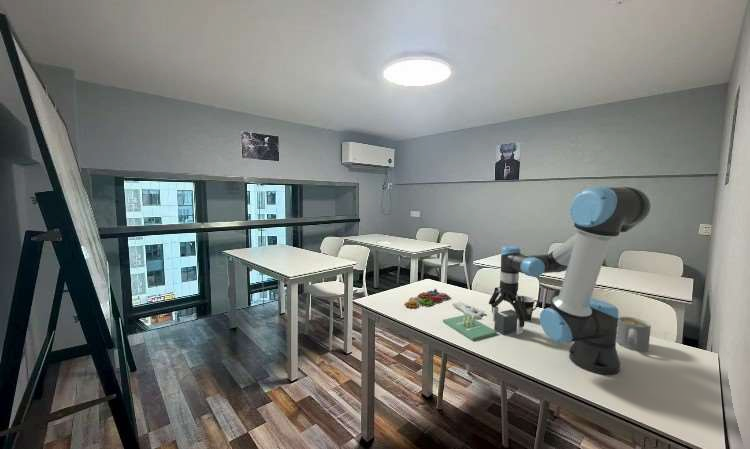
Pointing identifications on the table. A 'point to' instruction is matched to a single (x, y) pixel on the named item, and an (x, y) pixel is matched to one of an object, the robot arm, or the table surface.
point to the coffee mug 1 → (529, 306)
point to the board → (469, 327)
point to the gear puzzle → (427, 299)
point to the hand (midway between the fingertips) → (506, 326)
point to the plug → (506, 322)
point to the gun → (469, 310)
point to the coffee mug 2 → (633, 333)
